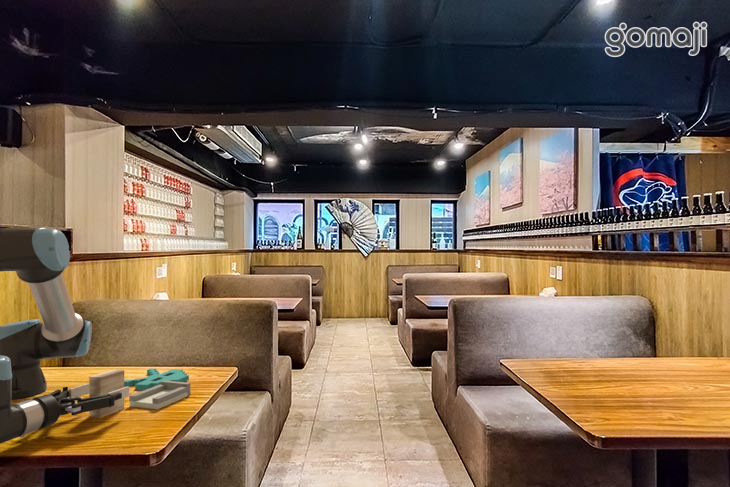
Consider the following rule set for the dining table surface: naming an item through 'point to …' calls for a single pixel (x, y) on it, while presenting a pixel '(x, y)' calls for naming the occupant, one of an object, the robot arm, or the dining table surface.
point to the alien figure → (157, 379)
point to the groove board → (152, 406)
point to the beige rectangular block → (106, 390)
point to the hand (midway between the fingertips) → (109, 389)
